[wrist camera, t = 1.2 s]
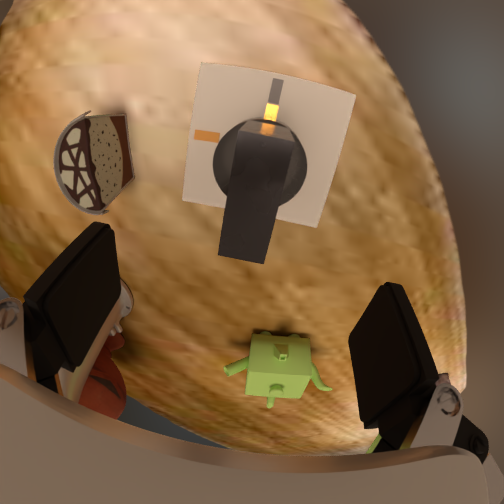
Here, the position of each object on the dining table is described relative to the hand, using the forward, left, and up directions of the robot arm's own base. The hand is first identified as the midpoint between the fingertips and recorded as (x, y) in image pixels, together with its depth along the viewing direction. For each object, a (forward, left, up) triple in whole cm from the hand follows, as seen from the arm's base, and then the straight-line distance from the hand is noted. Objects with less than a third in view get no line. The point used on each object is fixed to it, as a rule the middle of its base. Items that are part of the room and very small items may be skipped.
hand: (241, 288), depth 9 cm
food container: (+2, +21, -27) cm, 34 cm away
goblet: (-38, +38, -27) cm, 60 cm away
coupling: (0, 0, -19) cm, 19 cm away
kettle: (-38, -1, -27) cm, 47 cm away
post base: (0, 0, -27) cm, 27 cm away
